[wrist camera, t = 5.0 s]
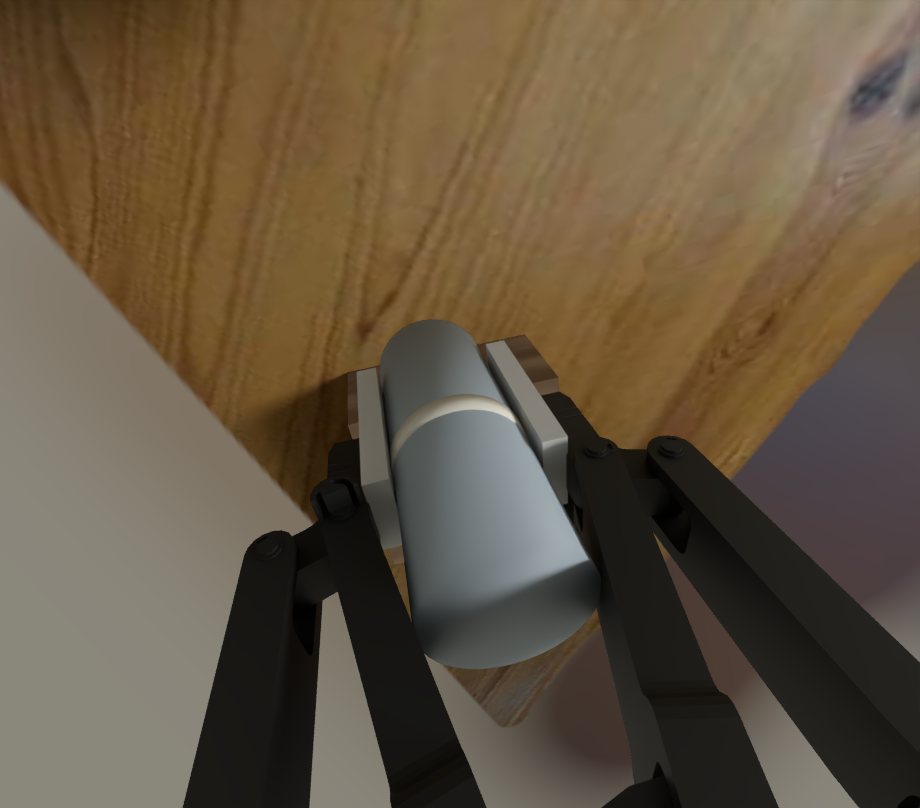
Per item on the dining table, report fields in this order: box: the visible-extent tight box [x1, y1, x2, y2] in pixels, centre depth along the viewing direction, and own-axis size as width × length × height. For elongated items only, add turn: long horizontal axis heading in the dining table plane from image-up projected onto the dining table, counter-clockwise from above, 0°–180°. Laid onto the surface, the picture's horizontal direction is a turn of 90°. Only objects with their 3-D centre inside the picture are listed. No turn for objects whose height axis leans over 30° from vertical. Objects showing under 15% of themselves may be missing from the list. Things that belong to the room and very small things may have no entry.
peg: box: [380, 319, 601, 669], centre depth 15 cm, size 4×4×12 cm
